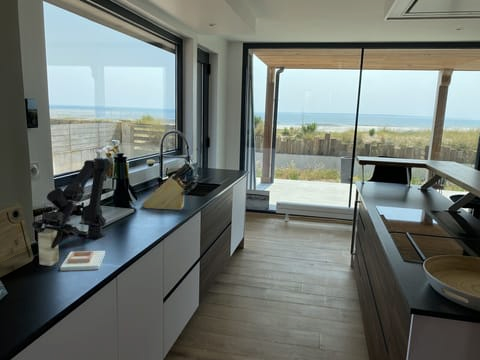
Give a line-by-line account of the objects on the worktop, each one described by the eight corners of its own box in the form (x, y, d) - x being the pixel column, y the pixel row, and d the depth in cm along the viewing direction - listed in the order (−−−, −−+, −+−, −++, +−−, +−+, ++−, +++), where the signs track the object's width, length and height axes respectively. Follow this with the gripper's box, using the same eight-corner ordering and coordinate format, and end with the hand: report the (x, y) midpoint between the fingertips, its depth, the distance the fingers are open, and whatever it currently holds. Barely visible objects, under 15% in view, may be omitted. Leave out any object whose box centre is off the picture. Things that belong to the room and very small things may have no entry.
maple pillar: (48, 259, 152) (46, 227, 149) (58, 261, 151) (57, 228, 148) (39, 264, 147) (37, 231, 144) (50, 265, 146) (48, 232, 143)
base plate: (70, 254, 157) (70, 248, 157) (105, 253, 160) (104, 247, 160) (60, 270, 142) (60, 263, 141) (98, 269, 145) (98, 262, 144)
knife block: (195, 211, 235) (196, 164, 230) (141, 208, 236) (141, 161, 230) (197, 207, 246) (199, 161, 241) (146, 204, 247) (146, 159, 241)
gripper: (33, 201, 150) (13, 235, 141) (73, 205, 147) (56, 241, 138) (47, 215, 159) (30, 248, 150) (86, 219, 156) (70, 253, 147)
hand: (46, 247), depth 146 cm, fingers closed on maple pillar, 5 cm apart
